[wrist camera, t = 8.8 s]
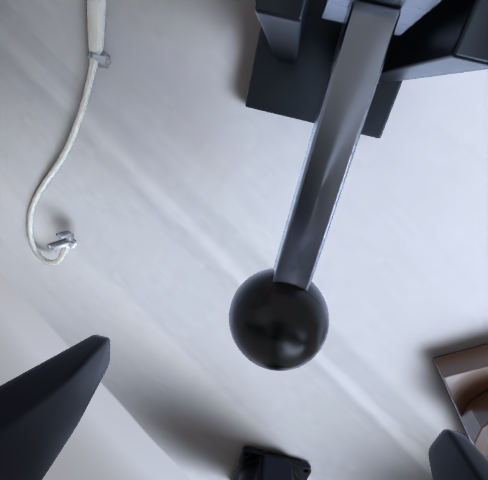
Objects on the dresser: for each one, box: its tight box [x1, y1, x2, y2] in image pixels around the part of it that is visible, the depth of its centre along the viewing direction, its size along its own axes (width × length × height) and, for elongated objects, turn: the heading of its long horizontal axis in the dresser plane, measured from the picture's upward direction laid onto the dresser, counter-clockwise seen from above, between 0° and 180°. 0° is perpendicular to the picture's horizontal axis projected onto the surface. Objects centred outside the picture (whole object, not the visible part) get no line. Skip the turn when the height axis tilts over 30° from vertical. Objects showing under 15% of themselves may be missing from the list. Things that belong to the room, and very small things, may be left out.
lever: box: [229, 0, 443, 371], centre depth 9 cm, size 13×3×3 cm, turn 168°
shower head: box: [27, 0, 110, 265], centre depth 17 cm, size 5×3×20 cm
